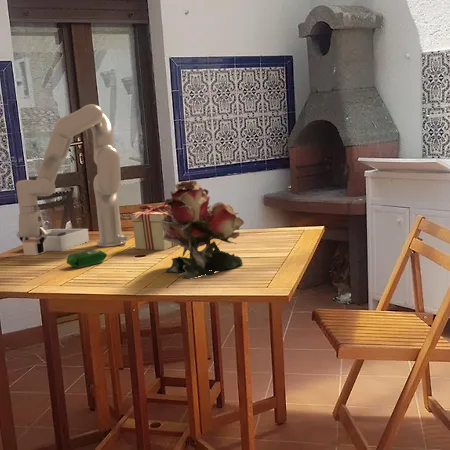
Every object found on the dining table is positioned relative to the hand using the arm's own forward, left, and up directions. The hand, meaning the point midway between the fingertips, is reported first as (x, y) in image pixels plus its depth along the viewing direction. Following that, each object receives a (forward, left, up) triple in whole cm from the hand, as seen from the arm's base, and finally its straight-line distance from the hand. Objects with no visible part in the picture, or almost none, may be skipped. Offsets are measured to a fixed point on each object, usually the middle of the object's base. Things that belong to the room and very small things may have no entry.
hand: (34, 252), depth 267 cm
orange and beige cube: (0, 0, -1) cm, 1 cm away
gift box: (-50, -17, -1) cm, 53 cm away
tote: (+1, -17, -1) cm, 17 cm away
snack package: (-37, +16, -1) cm, 41 cm away
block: (+1, -17, 0) cm, 17 cm away
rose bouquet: (-83, +17, -1) cm, 85 cm away
